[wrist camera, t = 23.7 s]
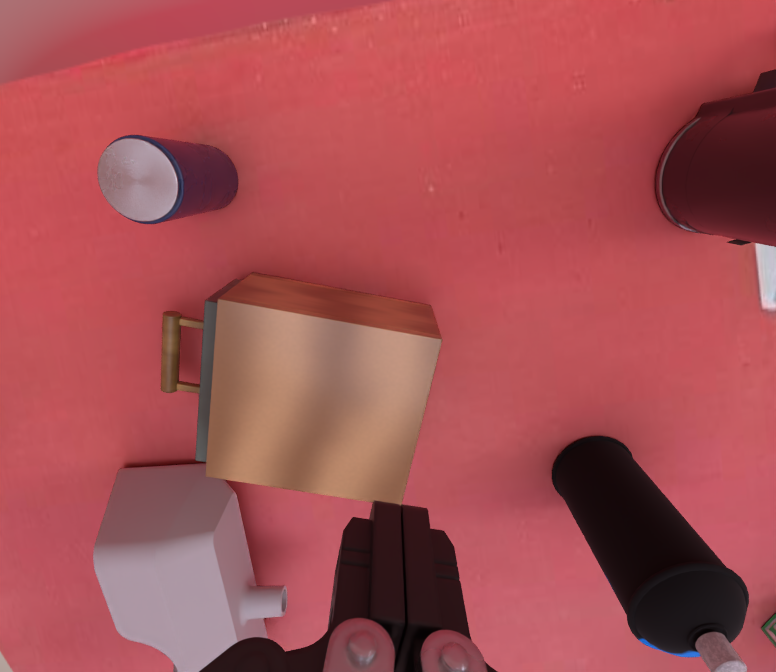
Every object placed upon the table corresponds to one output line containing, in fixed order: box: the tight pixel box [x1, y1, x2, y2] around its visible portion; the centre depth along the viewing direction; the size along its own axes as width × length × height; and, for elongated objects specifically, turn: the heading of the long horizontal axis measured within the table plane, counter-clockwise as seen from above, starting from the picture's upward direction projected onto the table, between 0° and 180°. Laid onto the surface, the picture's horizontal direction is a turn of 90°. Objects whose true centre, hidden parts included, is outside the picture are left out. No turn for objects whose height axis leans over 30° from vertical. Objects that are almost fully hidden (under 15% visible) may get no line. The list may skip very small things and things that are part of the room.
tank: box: [93, 463, 287, 672], centre depth 44 cm, size 25×16×12 cm, turn 4°
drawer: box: [161, 279, 242, 462], centre depth 38 cm, size 20×14×7 cm
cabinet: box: [205, 272, 442, 505], centre depth 38 cm, size 16×15×9 cm
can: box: [97, 135, 238, 224], centre depth 32 cm, size 5×5×11 cm
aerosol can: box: [552, 436, 749, 672], centre depth 37 cm, size 8×8×20 cm
